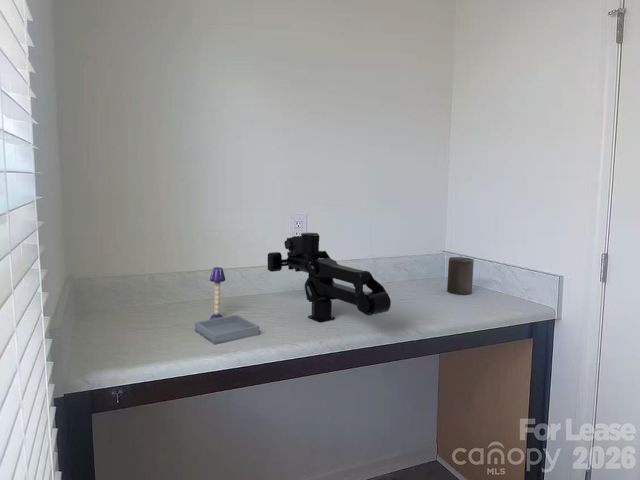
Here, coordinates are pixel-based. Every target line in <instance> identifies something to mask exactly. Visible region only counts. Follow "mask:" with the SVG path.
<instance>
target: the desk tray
mask: <svg viewBox="0 0 640 480" xmlns="http://www.w3.org/2000/svg"><path fill="white" fill-rule="evenodd" d="M194 331H195V332H196V333H198V334H199V335H201V336H202V337H203V338H205V339H206V340H207V341H209V342H211V343H212V344H213V345H214V346H215V345H219V344H224V343H228V342H232V341H237V340H242V339H246V338H251V337H255V336H260V325H257V324H256V323H254V322H252V321H249V320H248V319H246V318H244V317H242V316H240V315H239V314H234V315H228V316H223V317H222V318H217V319H211V320H210V319H207V320H206V319H205V320H201V321H195V322H194Z"/></svg>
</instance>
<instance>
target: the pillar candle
mask: <svg viewBox="0 0 640 480" xmlns="http://www.w3.org/2000/svg"><path fill="white" fill-rule="evenodd" d="M474 260H475V259H474V258H470V257H463V256H452V257H451V256H450V257H449V258H448V264H447V265H448V267H447V281H446V283H447V286H446V292H448V293H449V294H454V295H460V296H461V295H462V296H465V295H467V294H468V295H472V293H473V281H474V278H473V277H474V262H475V261H474Z"/></svg>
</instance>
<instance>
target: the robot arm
mask: <svg viewBox="0 0 640 480" xmlns="http://www.w3.org/2000/svg"><path fill="white" fill-rule="evenodd" d="M284 248H285V250H288V251H287V253H286V254H287V258H283V256H282V253H281V252H279V251H275V252H274V251H273V252H269V253H267V271H269V272H280V271H281V270H282V268H283V267H287V266H288V270H294V271H295V272H303V273H307V274H308V277H307V278H306V281H305V283H304V291H305V296H306V300H307V301H308V302H309V303H311V315H307V318H309V319H311V320H313V321H316V322H317V323H324V322H327V321H331V320H332V321H333V320H335V319H336V317H335V316H332V301H333V300H339V301H341V302H345V303H348V304H350V305H354V306H356V308H357V310H358V311H359V312H361V313H362V314H364V315H366V316H373V315H378V314H381V313H382V314H383V313H386V312H389V310H390V308H391V303H392V301H391V300H392V299H391V298H390V296H389V293H388V292H387V291H386V289H385V288H384V285H382V284H381V283H380V282H378V281H377V280H376V279H375V278H374V276H373V275H372V273H371V272H370V271H368V270H361V269H358V268H354V267H350V266H346V265H341V264H339V263H338V261H336V260H334V259H332V258H331V257H330V255H329V254H328V253H327V251H326V250H320V235H319V233H318V232H302V233H301V234H300V235H297V236H296V235H295V236H291V237H286V240H284ZM334 279H335V280H339V281H341V282H345V283H349V284H352V286H354V288H353V287H350V286H347V285H343V284H341V283H336V282H335V280H334ZM364 286H366V287H367V289H369V290H371V291H364Z"/></svg>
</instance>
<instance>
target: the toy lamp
mask: <svg viewBox="0 0 640 480" xmlns="http://www.w3.org/2000/svg"><path fill="white" fill-rule="evenodd" d="M224 272H225V271H224V269H223V267H217V266H216V267H213V268H212V270H211V275H210V277H209V281H210V282H212V283H214V287H213V288H214V294H213V295H214V296H213V300H214V302H213V304H214V305H213V309H214V310H213V314H212V315H211V316H210V318H209V320H211V319H217V318H222V317H224V316H223V315H222V314H221V313H220V309H221V307H220V306H221V305H220V304H221V301H220V300H221V291H220V290H221V283H222V282H223V283H224V282H225V281H226V277H225V273H224Z"/></svg>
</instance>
